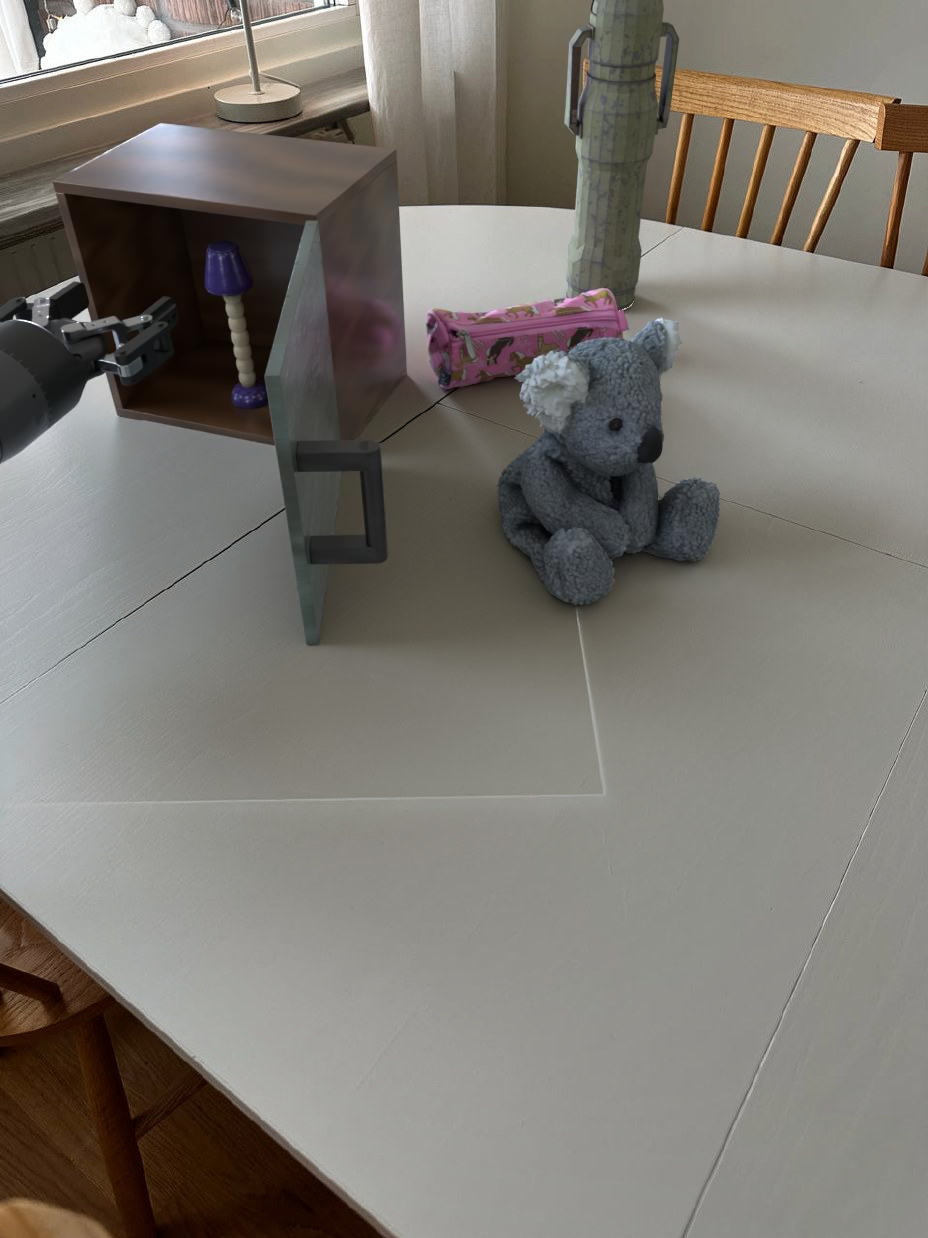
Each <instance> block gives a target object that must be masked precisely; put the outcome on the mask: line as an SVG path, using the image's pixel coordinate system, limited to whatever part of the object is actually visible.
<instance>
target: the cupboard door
mask: <svg viewBox="0 0 928 1238" xmlns="http://www.w3.org/2000/svg"><path fill="white" fill-rule="evenodd" d="M264 377H265V383H266V390H267V396H268V402H269V409H270V415H271V422H272V428H273V434H274V441H275V446H274V447H275V454H276V458H277V460H276V461H277V465H278V472H279V476H280V477H279V478H280V485H281V492H282V498H283V504H284V511H285V516H286V517H285V518H286V524H287V530H288V536H289V543H290V548H291V549H290V550H291V554H292V561H293V568H294V574H295V581H296V587H297V588H296V589H297V593H298V600H299V606H300V612H301V618H302V619H301V620H302V624H303V631H304V639H305V644H306V645H307V646H317V645H320V638H321V632H322V631H321V630H322V624H323V617H324V616H323V614H324V609H325V600H326V594H327V585H328V577H329V571H330V565H371V564H372V565H373V564H374V565H375V564H382V563H385V562H386V561H387V560H388V558H389V545H388V533H387V519H386V518H387V517H386V506H385V505H386V503H385V492H384V478H383V463H382V449H381V444H380V442H378V441H377V440H374V439H356V440H341V439H340V429H339V420H338V410H337V400H336V391H335V381H334V371H333V362H332V352H331V342H330V333H329V323H328V313H327V304H326V294H325V284H324V275H323V265H322V255H321V245H320V236H319V226H318V221H306V223H305V227H304V231H303V234H302V238H301V242H300V246H299V249H298V253H297V257H296V260H295V264H294V268H293V272H292V275H291V279H290V283H289V287H288V290H287V294H286V298H285V301H284V305H283V309H282V313H281V316H280V320H279V324H278V327H277V331H276V335H275V339H274V342H273V346H272V350H271V354H270V357H269V361H268V365H267V368H266V372H265V376H264ZM343 472H359V479H360V491H361V502H362V515H363V521H364V522H363V524H364V534H347V535H346V534H337V535H336V534H334V532H335V525H336V516H337V511H338V501H339V493H340V487H341V480H342V473H343Z"/></svg>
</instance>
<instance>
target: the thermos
mask: <svg viewBox="0 0 928 1238" xmlns="http://www.w3.org/2000/svg"><path fill="white" fill-rule="evenodd" d="M664 5H665V4H664V0H592V1H591V5H590V14H589V15H590V16H589V17H590V18H589V22H587V25H584V26H582V27H579V28H577V30H576V31H575V33H574V34H573V35H572V37H571V39H570V40H569V42H568V54H567V55H568V57H567V73H566V93H565V108H564V121H563V123H564V125H565V126H566V127H567V129H569V131H570V132H571V133H572V134H573V135H574V136H575V153H576V156H577V159H578V164H577V165H578V166H577V180H576V181H577V182H576V192H575V193H576V195H575V207H574V208H575V209H574V210H575V211H574V221H573V233H572V236H571V238H570V240H569V243H568V246H567V257H566V273H565V278H566V282H567V283H566V284H567V285H566V292H565V298H566V297H567V298H571V299H573V298H575V297H577V296H579V295H580V294H581V293H586V292H589V291H592V290H597V289H600V288H604V289H605V288H606V289H609V290H610V291H611V292H612V293H613V295H614V297H615V301H616V305H617V309H618V311H619V310H622V309H624V308H627V307H629V306H630V305H631V304H632V303H633V301H634V302H635V300H634V299H635V294H636V287H637V285H638V282H639V275H640V270H641V269H640V267H641V260H642V251H643V250H642V246H641V242H640V241H641V240H640V231H641V230H640V229H641V220H642V211H643V203H644V197H645V196H644V195H645V186H646V177H647V169H648V162H649V160H650V159H651V157H652V155H653V154H654V145H655V137H656V136H658V133H659V130H661V129H662V130H663V129H667V126H668V123H669V118H670V114H671V113H670V112H671V107H672V100H673V90H674V84H675V76H676V69H677V68H676V67H677V61H678V52H679V46H680V37H679V35H678V33H677V31H676V28H675V27H674V25H673V24H671V23H669V22H668V21H664V11H665V7H664ZM661 38H665V41H666V42H665V46H664V47H665V48H664V56H663V64H662V72H661V81H660V89H659V97H658V95H657V89H656V82H657V73H656V64H657V61H658V60H659V54H660V47H661V46H660V45H661ZM587 39H588V42H587V43H588V44H587V59H588V67H587V68H588V69H587V71H586V72H585V83H584V85H583V89H582V91H581V94H580V97H579V90H580V77H581V76H580V75H581V62H582V61H581V59H582V47H583V46H584V43H585V42H586V40H587ZM633 304H634V303H633Z"/></svg>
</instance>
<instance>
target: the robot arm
mask: <svg viewBox="0 0 928 1238" xmlns="http://www.w3.org/2000/svg"><path fill="white" fill-rule="evenodd" d="M88 306H89V298H88V295H87V291H86V287H85V285H84V283H82V282H80V281H77V280H76V281H75V280H73V281H72V282H70V283H69V284H67V285H66V286H64V287H62V288H61V289H59V290H58V291H56V292H55V293H53V294H52V295H51V296H49V297H47V296H40V297H37V298H34V299H33V302H28V301H27V298H26V297H24V296H16V297H13V298H11V299H9V300H8V301H7V302H6V303H4V304H3V305H1V306H0V465H2V464H3V463H5V462H7V461H8V460H9V461H10V460H11V459H12V458H15V456H17V455H19V454H20V453H22V452H23V451H24V450H25V449H26V448H28V447H29V446H30V445H31V444H33V443H34V442H35V441H36V440H37V439H39V438H40V437H41V436H42V435H44V433H46V432H47V431H48V430H49V429H51V428H52V427H53V426H54V425H55V424H57V423H58V422H59V421H60V420H61V419H62V418H64V417H65V416H66V415H67V414H69V413H70V412H72V411H73V410H74V409H75V408H76V406H77V405H79V403H80V400H81V398H82V395H83V393H84V390H85V388H86V385H87V383H88V381H90V380H93V379H96V378H97V377H101V376H102V375H104V374H106V373H105V372H110V373H114V374H118V375H119V376H120V380H121V383H122V385H124V386H132V385H135V384H136V383H138V382H139V381H140V380H141V379H143V378H144V377H145V376H147V375H148V374H149V373H150V372H152V371H153V370H154V369H156V368H157V367H158V366H160V365H161V364H162V363H163V362H165V361H166V360H167V359H169V358H170V357H171V356H172V355H174V349H173V344H172V339H171V335H170V330H171V329H172V328H174V326H176V325H177V324H178V323H179V316H178V311H177V306H176V304H175V300H174V298H172V297H166V296H163V297H162V298H161V299H159V300H158V301H157V302H156V303H154V304H153V305H152V306H150V307H149V308H148V309H147V310H145V311H144V312H143V313H141V315H140V316H136V317H132V318H128V319H125V320H120V319H119V318H118V317H117V316H111V317H107V318H103V319H100V320H96V321H92V322H91V321H78V320H75V319H74V318H76V317H77V316H78V315H79V314H81V313H83V312H84V311H85V310H88ZM14 317H15V319H14ZM137 329H139V331H140V334H139V335H137V336H136V337H134V338H133V339H132V340H130V341H129V342H128V338H127V333H128V332H129V331H133V330H137ZM107 331H112V332H113V336H114V339H115V343H116V351H115V352H114V353H112V354H108V347H107V343H106V339H105V335H104V333H103V332H107ZM155 349H156V350H155Z"/></svg>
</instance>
